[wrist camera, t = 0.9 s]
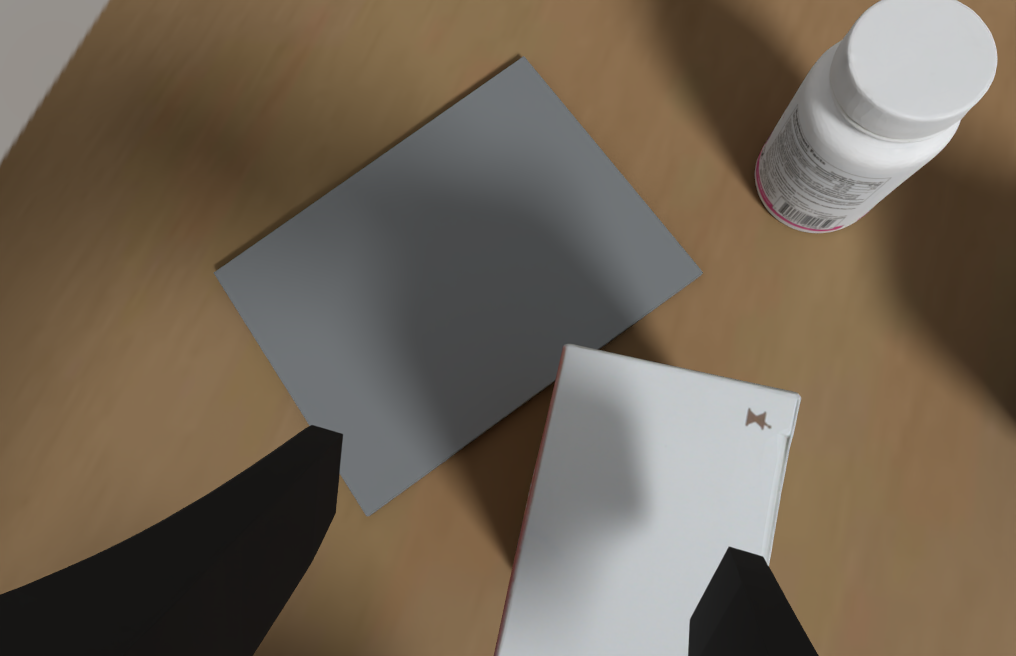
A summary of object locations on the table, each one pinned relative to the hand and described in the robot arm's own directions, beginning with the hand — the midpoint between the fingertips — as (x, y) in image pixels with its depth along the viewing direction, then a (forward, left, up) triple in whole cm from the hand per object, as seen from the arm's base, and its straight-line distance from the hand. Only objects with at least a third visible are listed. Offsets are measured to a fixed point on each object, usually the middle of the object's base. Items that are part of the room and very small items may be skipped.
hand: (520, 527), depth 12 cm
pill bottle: (+4, -16, -13) cm, 21 cm away
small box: (-2, -2, -13) cm, 14 cm away
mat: (+9, -2, -13) cm, 16 cm away
